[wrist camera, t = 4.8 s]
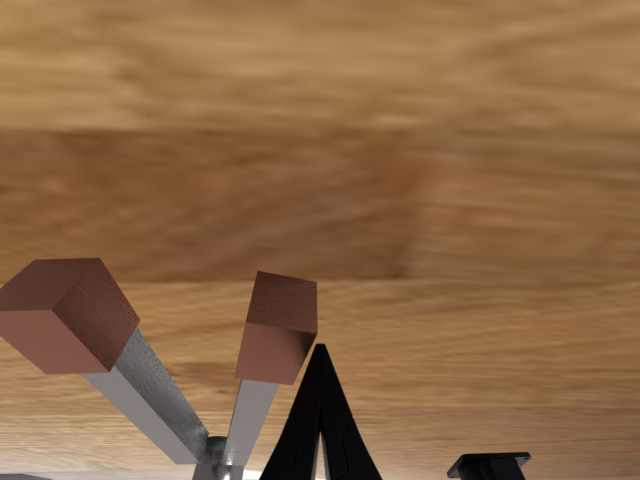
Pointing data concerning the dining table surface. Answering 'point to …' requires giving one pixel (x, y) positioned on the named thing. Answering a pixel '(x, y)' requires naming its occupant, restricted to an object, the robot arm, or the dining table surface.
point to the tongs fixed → (99, 348)
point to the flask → (21, 477)
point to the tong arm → (263, 365)
